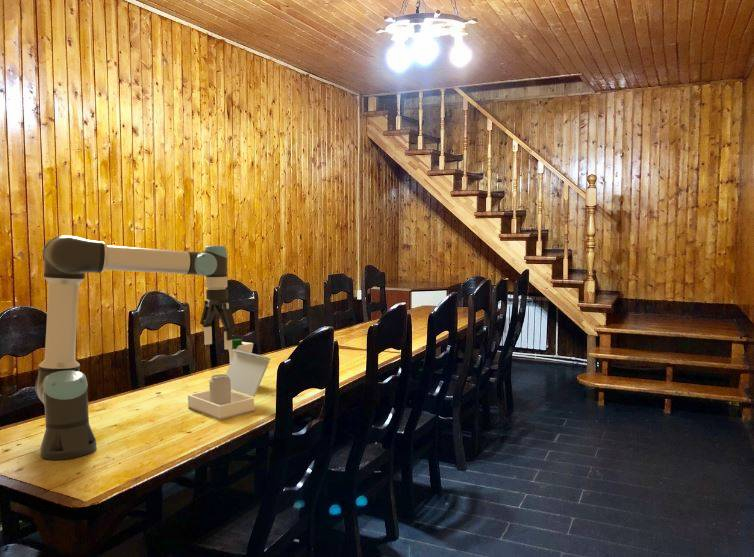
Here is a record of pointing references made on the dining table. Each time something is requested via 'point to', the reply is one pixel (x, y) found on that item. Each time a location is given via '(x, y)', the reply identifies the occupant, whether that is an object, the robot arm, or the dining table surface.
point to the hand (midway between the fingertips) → (218, 346)
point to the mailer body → (235, 408)
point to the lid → (247, 372)
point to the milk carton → (240, 347)
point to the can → (220, 389)
